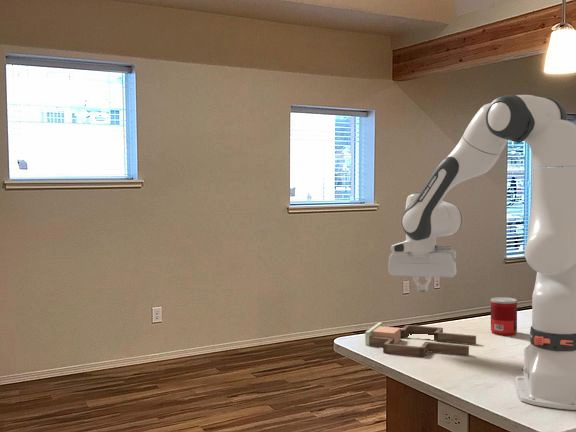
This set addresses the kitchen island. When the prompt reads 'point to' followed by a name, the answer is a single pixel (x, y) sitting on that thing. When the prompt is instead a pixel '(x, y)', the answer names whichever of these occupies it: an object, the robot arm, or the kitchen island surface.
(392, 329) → the block
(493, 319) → the canned food
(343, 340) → the kitchen island surface
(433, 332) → the box
